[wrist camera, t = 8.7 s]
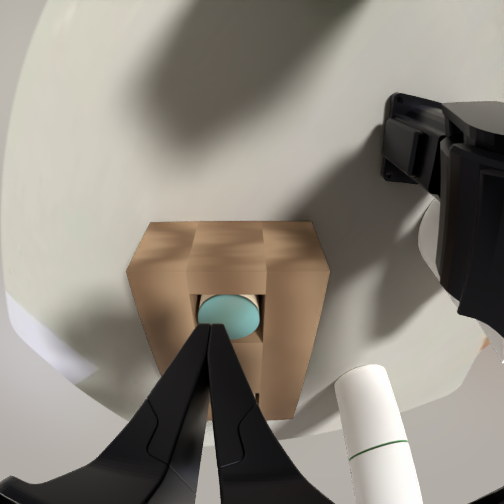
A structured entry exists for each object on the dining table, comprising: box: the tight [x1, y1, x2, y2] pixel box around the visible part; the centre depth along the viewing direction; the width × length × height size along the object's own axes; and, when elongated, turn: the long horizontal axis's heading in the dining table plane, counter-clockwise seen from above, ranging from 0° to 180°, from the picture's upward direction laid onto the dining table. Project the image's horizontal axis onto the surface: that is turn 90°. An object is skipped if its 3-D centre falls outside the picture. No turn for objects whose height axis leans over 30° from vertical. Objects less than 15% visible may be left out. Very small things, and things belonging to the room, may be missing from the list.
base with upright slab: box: [418, 198, 504, 363], centre depth 18 cm, size 9×9×12 cm
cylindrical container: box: [334, 365, 423, 504], centre depth 25 cm, size 7×7×25 cm
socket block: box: [126, 221, 330, 420], centre depth 25 cm, size 12×20×6 cm, turn 179°
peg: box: [198, 294, 259, 340], centre depth 22 cm, size 4×4×6 cm
